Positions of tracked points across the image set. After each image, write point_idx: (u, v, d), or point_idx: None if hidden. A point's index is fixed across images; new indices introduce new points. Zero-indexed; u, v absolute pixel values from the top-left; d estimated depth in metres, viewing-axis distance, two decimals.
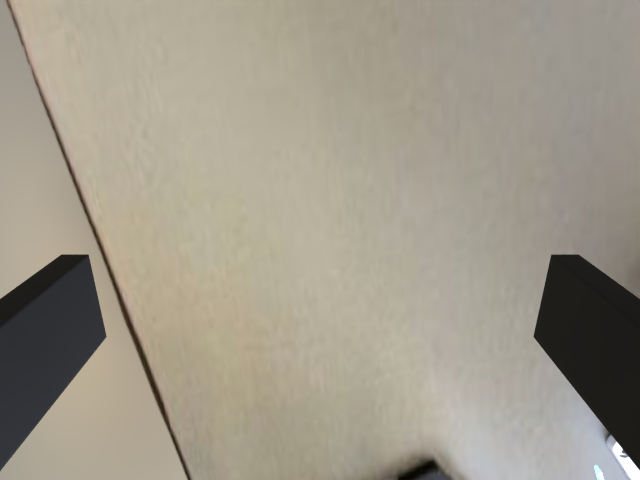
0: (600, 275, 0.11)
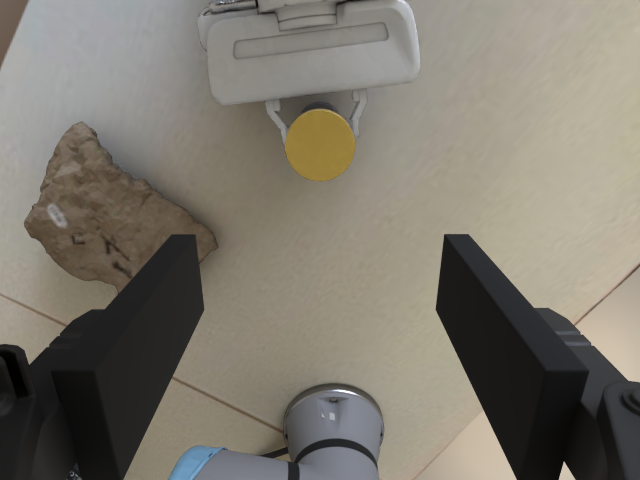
0: (477, 250, 0.12)
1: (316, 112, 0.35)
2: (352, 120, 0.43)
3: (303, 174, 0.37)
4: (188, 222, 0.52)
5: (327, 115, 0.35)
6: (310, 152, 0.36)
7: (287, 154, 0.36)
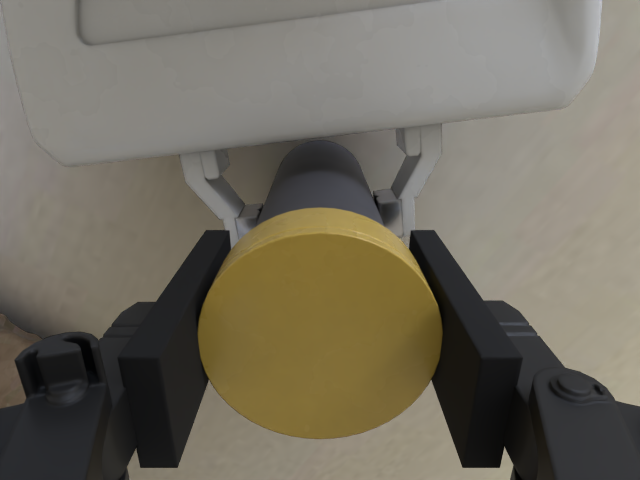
0: (439, 245, 0.13)
1: (306, 238, 0.09)
2: (399, 199, 0.17)
3: (265, 422, 0.11)
4: None
5: (348, 248, 0.09)
6: (287, 362, 0.10)
7: (208, 368, 0.11)
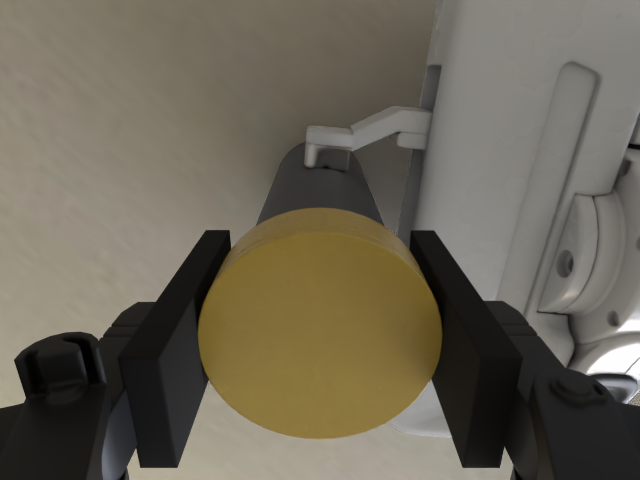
0: (439, 245, 0.13)
1: (307, 238, 0.09)
2: None
3: (264, 422, 0.11)
4: None
5: (348, 249, 0.09)
6: (286, 362, 0.10)
7: (207, 367, 0.10)
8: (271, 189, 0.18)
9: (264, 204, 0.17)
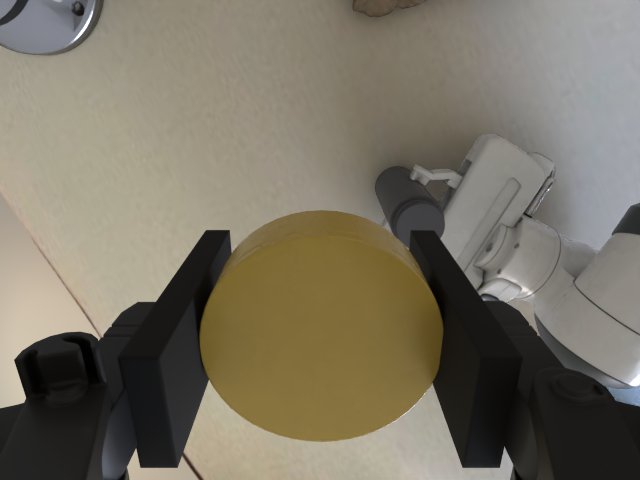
0: (439, 245, 0.13)
1: (308, 241, 0.09)
2: None
3: (267, 425, 0.11)
4: (402, 0, 0.43)
5: (349, 252, 0.09)
6: (288, 365, 0.10)
7: (209, 371, 0.11)
8: (392, 182, 0.45)
9: (392, 187, 0.44)
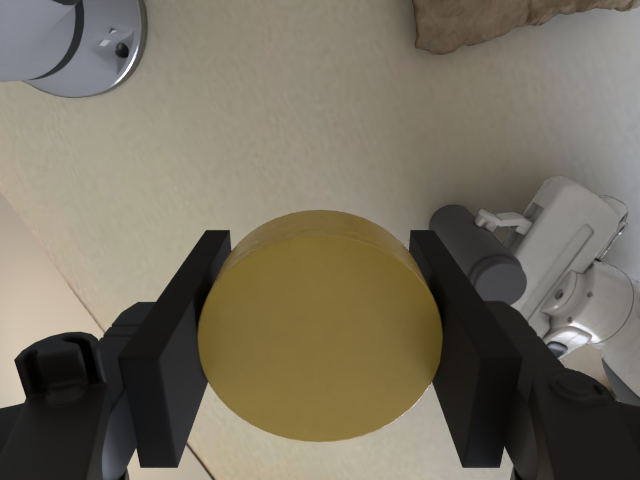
0: (439, 245, 0.13)
1: (306, 241, 0.09)
2: None
3: (265, 425, 0.11)
4: (469, 38, 0.40)
5: (348, 251, 0.09)
6: (287, 365, 0.10)
7: (207, 371, 0.10)
8: (457, 228, 0.43)
9: (459, 235, 0.42)
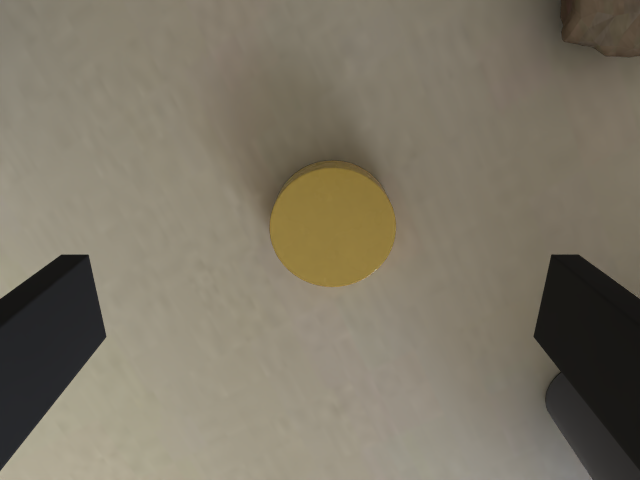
0: (600, 275, 0.11)
1: (326, 170, 0.19)
2: None
3: (302, 275, 0.21)
4: None
5: (346, 176, 0.19)
6: (315, 239, 0.20)
7: (274, 242, 0.20)
8: None
9: None
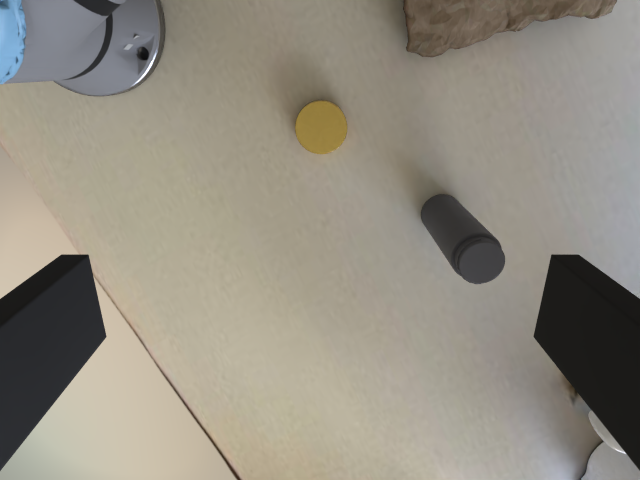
0: (600, 275, 0.11)
1: (318, 102, 0.48)
2: None
3: (308, 148, 0.50)
4: (455, 42, 0.45)
5: (326, 104, 0.48)
6: (314, 132, 0.49)
7: (297, 133, 0.49)
8: (445, 214, 0.47)
9: (446, 220, 0.46)
